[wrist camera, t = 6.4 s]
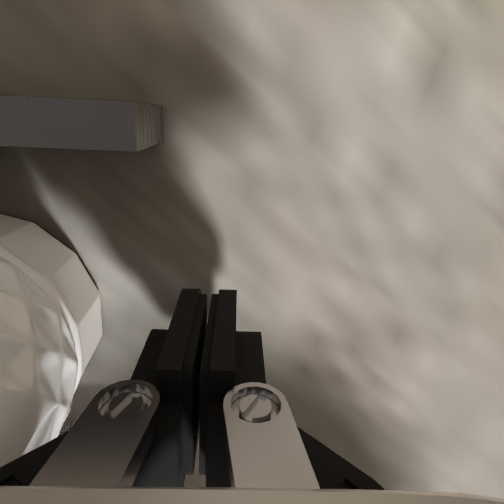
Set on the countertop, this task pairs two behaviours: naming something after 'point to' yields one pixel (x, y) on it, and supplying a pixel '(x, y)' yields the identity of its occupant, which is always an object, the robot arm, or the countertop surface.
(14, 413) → the white cup
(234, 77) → the countertop surface
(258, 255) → the countertop surface
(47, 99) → the bracket
